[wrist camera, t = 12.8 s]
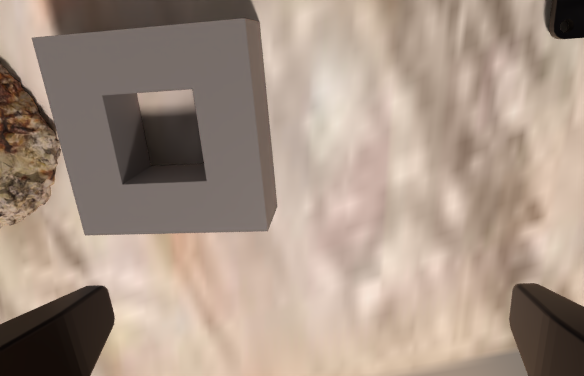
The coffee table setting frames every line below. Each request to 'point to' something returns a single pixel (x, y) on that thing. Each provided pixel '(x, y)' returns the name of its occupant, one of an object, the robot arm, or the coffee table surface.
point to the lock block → (130, 134)
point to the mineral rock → (23, 153)
